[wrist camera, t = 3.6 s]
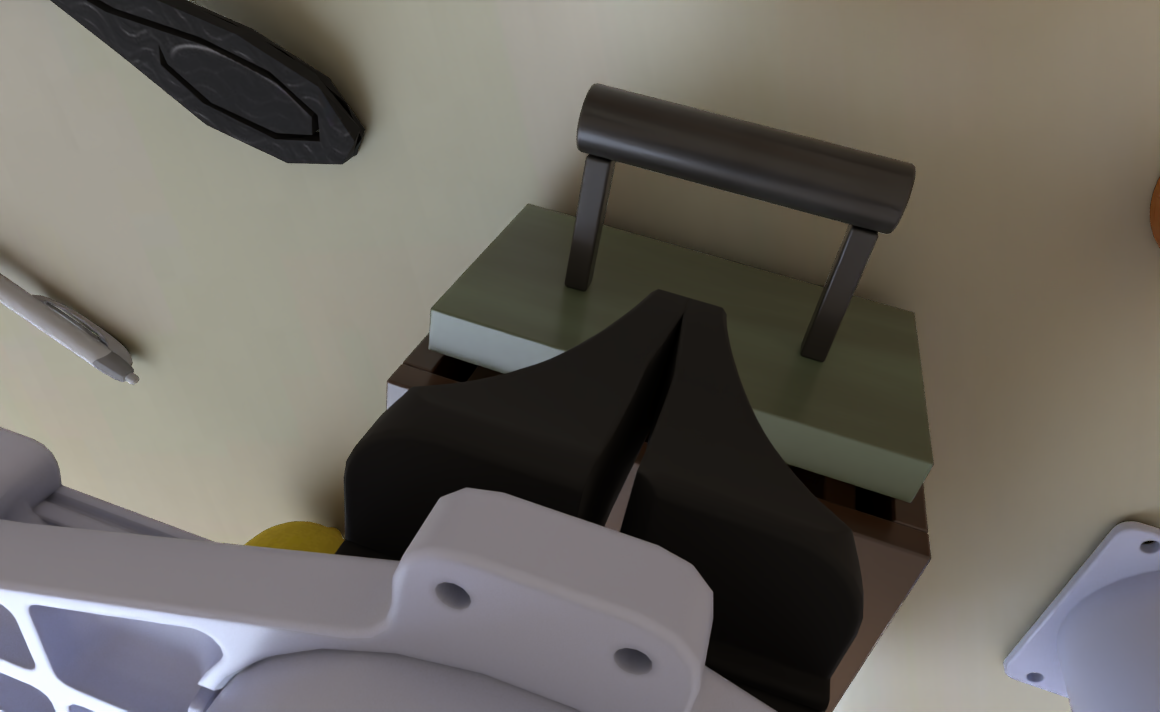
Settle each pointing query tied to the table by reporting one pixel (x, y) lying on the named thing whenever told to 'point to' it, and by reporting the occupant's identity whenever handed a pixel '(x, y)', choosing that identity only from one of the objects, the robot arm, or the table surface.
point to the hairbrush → (228, 76)
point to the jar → (1155, 213)
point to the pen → (70, 331)
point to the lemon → (300, 537)
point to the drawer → (720, 289)
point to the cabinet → (879, 523)
